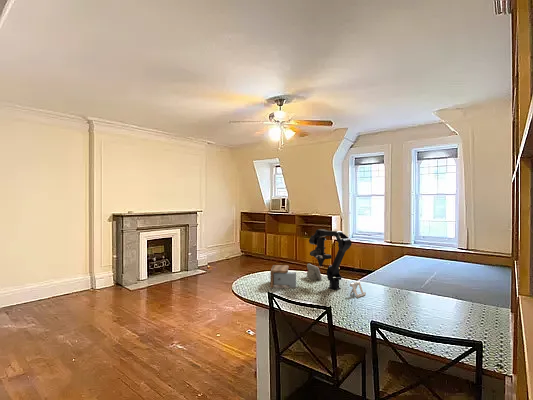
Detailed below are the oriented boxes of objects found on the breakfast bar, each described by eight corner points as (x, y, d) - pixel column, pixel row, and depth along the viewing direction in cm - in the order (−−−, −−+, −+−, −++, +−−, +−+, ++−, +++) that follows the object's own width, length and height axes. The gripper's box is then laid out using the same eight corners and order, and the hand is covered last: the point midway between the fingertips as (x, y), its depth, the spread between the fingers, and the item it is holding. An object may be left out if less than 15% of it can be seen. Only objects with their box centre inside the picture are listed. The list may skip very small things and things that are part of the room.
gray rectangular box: (296, 286, 233) (296, 272, 233) (295, 288, 228) (295, 274, 228) (274, 285, 235) (274, 271, 235) (273, 287, 230) (273, 273, 230)
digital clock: (322, 280, 248) (322, 267, 248) (311, 281, 247) (311, 267, 247) (315, 275, 264) (315, 262, 264) (305, 276, 263) (305, 263, 263)
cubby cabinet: (290, 281, 245) (290, 265, 245) (289, 288, 227) (289, 270, 227) (273, 280, 247) (273, 264, 247) (270, 287, 229) (270, 270, 229)
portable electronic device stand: (358, 298, 207) (358, 285, 206) (348, 295, 213) (348, 282, 213) (365, 295, 212) (365, 283, 212) (355, 292, 218) (355, 280, 218)
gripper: (304, 245, 243) (304, 265, 243) (320, 248, 227) (320, 270, 228) (315, 243, 249) (315, 263, 249) (332, 247, 233) (332, 268, 234)
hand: (320, 266), depth 240 cm, fingers closed
